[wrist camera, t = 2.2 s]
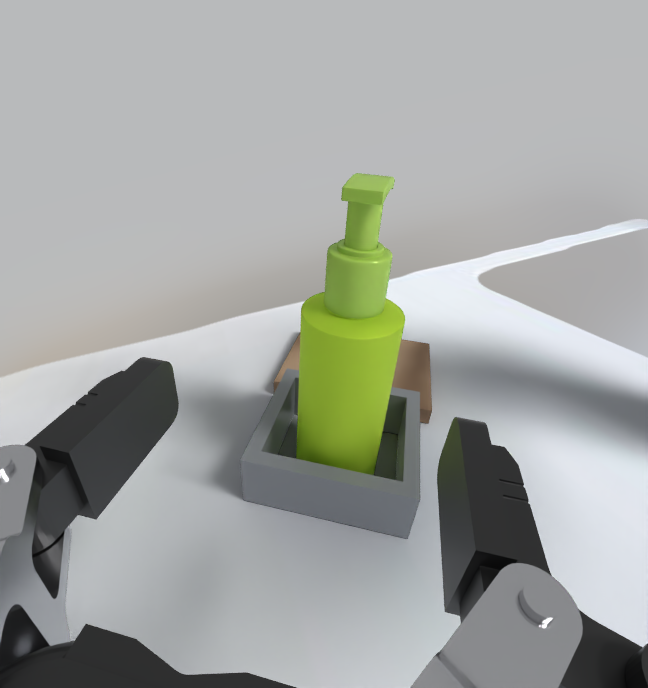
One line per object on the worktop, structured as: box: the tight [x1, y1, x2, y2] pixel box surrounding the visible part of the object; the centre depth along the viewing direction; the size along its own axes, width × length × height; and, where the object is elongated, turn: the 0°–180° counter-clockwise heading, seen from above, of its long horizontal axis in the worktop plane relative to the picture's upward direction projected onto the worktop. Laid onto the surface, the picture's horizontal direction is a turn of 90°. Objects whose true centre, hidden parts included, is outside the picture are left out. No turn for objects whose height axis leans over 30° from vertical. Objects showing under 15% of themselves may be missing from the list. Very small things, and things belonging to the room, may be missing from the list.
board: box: [274, 333, 432, 423], centre depth 38 cm, size 14×11×2 cm
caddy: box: [240, 368, 420, 539], centre depth 28 cm, size 11×10×4 cm
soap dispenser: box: [296, 173, 405, 475], centre depth 24 cm, size 6×7×20 cm
